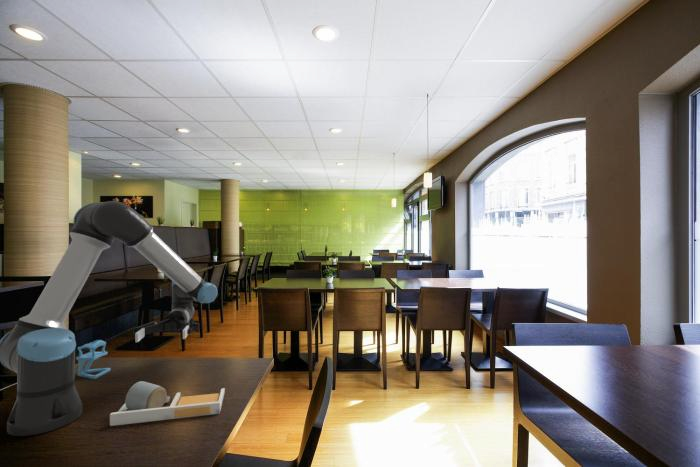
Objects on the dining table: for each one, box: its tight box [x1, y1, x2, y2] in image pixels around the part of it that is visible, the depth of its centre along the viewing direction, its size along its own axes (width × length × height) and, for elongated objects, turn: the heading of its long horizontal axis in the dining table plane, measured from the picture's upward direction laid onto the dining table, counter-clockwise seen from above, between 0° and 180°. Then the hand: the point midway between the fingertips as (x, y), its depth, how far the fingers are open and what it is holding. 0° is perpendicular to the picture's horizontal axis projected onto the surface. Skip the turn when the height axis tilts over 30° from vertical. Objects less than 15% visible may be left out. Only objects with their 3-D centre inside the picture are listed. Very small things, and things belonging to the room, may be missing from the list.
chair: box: [75, 339, 111, 380], centre depth 124 cm, size 8×8×12 cm
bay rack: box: [109, 387, 226, 427], centre depth 100 cm, size 27×14×3 cm, turn 104°
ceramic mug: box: [124, 380, 171, 411], centre depth 100 cm, size 11×8×8 cm
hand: (160, 336), depth 110 cm, fingers open, 13 cm apart
